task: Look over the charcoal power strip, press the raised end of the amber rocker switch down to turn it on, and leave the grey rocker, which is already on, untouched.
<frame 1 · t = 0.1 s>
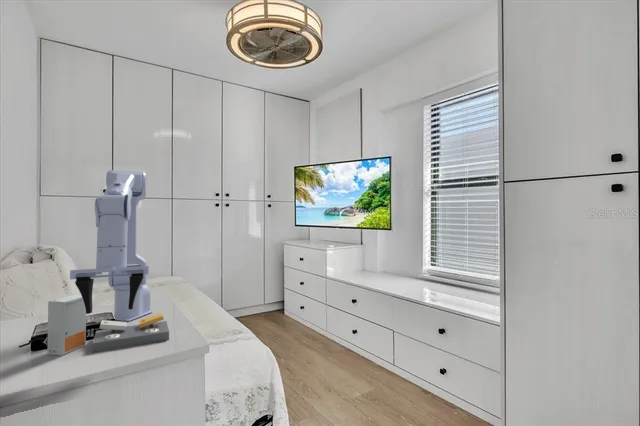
hand: (110, 311, 71), 11 cm above the table, tool pointing down, fingers open, 7 cm apart
grey rocker: (113, 325, 83), point 4 cm above the table, hinge at 14.0°
power strip: (132, 339, 83), on the table
skincare box: (67, 350, 76), on the table
amber rocker: (151, 319, 87), point 4 cm above the table, hinge at -14.0°
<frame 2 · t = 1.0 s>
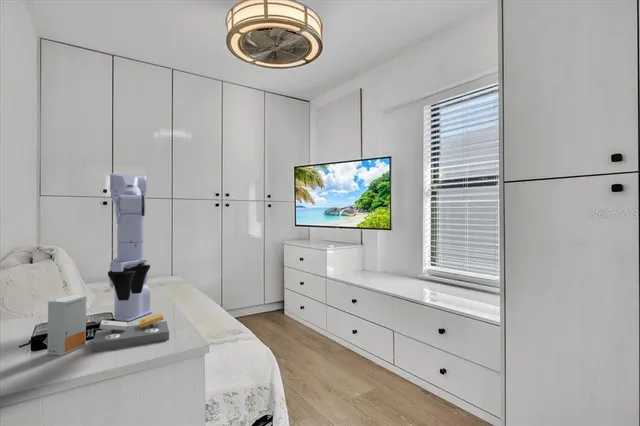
hand: (130, 296, 83), 11 cm above the table, tool pointing down, fingers open, 7 cm apart
nothing on the table moved.
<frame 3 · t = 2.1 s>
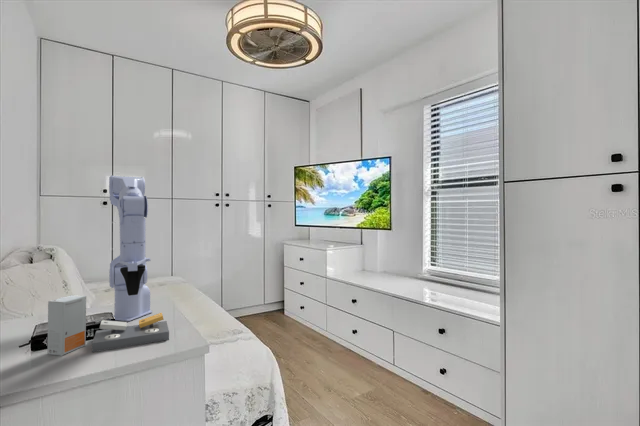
hand: (133, 294, 86), 10 cm above the table, tool pointing down, fingers closed
nothing on the table moved.
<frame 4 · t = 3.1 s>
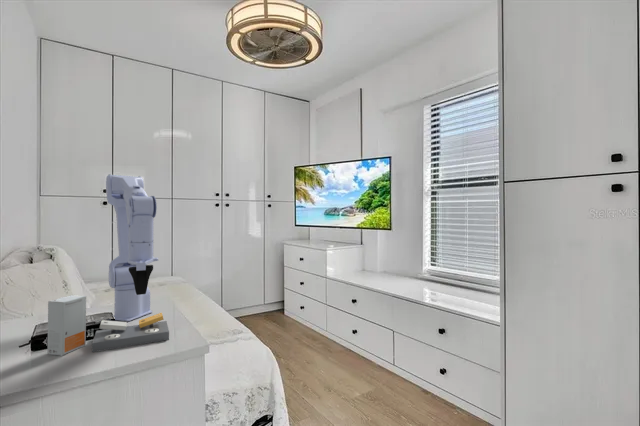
hand: (141, 293, 86), 10 cm above the table, tool pointing down, fingers closed
nothing on the table moved.
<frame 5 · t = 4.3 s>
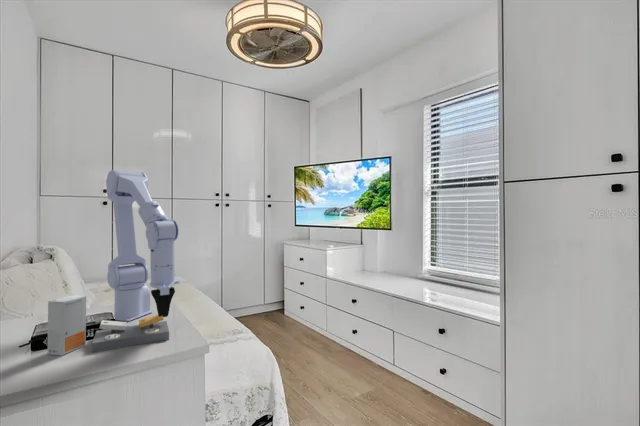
hand: (163, 316, 88), 4 cm above the table, tool pointing down, fingers closed, pressing on amber rocker
amber rocker: (151, 319, 87), point 4 cm above the table, hinge at -12.3°, touching gripper
everything else where it was.
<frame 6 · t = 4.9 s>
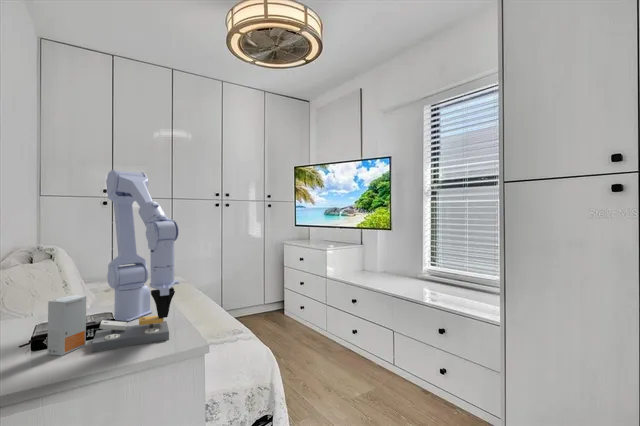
hand: (162, 316, 88), 4 cm above the table, tool pointing down, fingers closed
amber rocker: (151, 319, 87), point 4 cm above the table, hinge at 1.9°, touching gripper
everything else where it was.
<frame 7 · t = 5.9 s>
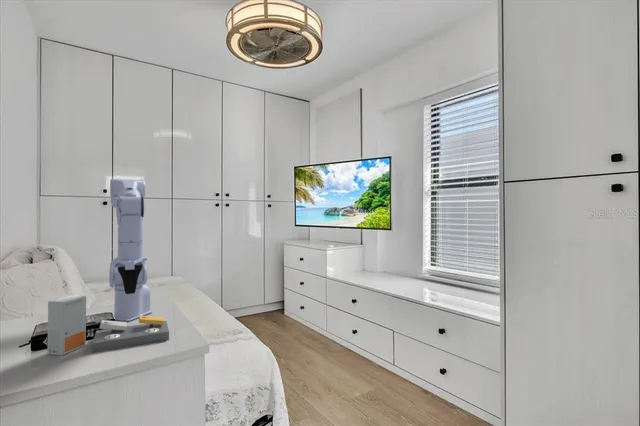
hand: (130, 293, 87), 10 cm above the table, tool pointing down, fingers closed
amber rocker: (151, 319, 87), point 4 cm above the table, hinge at 13.1°
everything else where it was.
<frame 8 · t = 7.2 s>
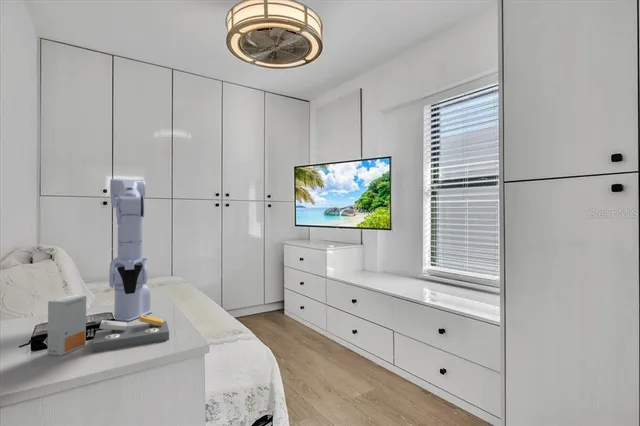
hand: (130, 293, 87), 10 cm above the table, tool pointing down, fingers closed
amber rocker: (151, 319, 87), point 4 cm above the table, hinge at 22.7°
everything else where it was.
at the end: amber rocker at +23° (first picture: -14°); grey rocker at +14° (first picture: +14°); skincare box moved 0.2 cm from its start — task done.
